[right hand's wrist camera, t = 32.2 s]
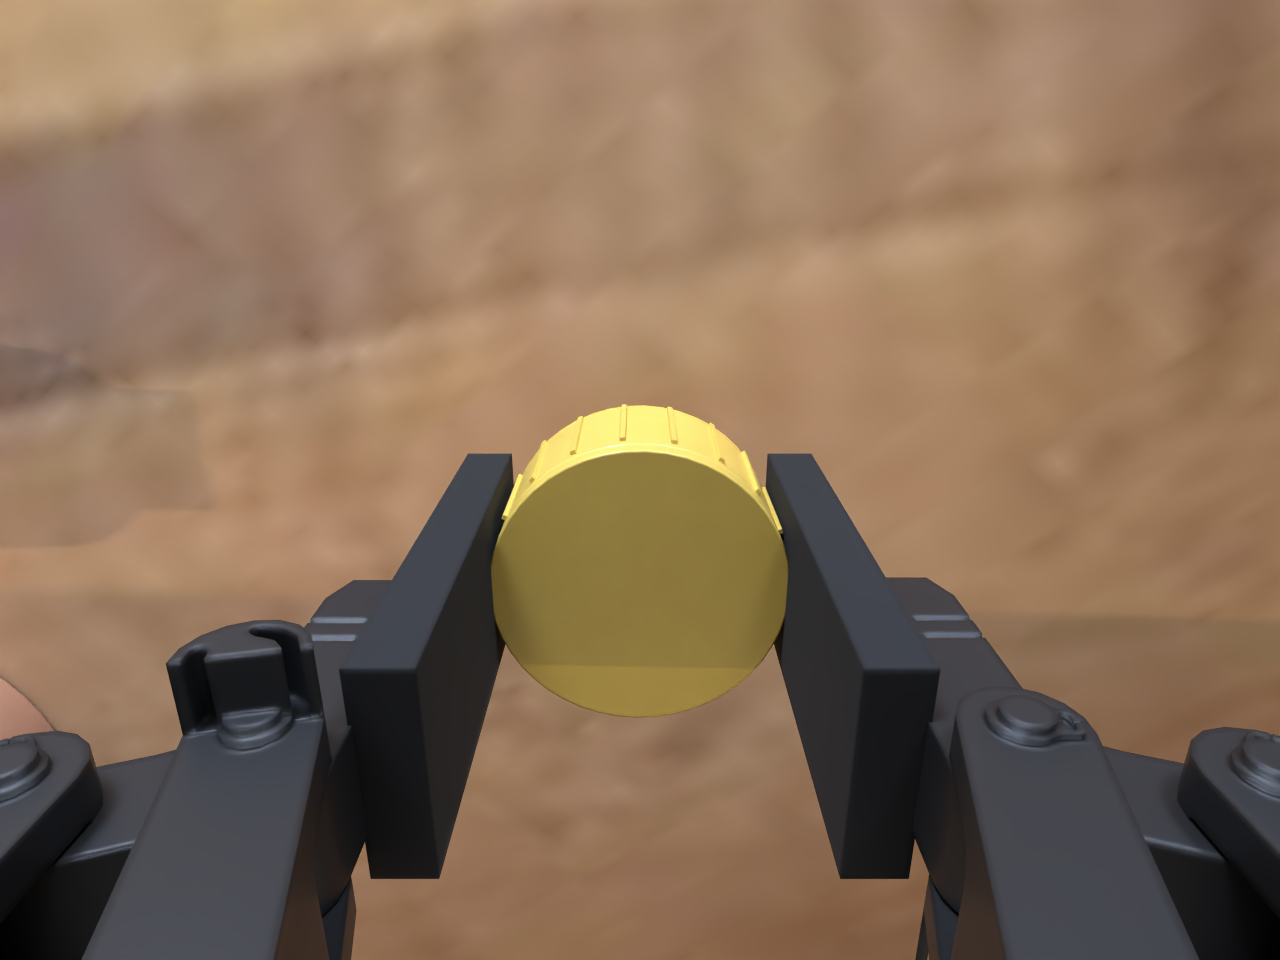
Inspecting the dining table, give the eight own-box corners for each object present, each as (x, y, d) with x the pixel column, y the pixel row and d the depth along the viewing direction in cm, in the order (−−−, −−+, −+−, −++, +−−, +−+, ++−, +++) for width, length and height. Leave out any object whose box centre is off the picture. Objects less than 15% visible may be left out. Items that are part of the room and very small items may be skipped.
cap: (722, 361, 13) (739, 400, 11) (802, 595, 15) (830, 669, 13) (466, 455, 14) (434, 509, 12) (568, 671, 16) (557, 755, 13)
